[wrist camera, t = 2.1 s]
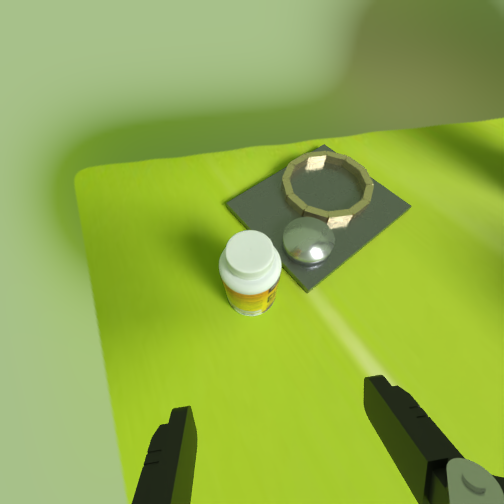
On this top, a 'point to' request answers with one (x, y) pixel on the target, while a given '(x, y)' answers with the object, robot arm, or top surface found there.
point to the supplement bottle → (250, 272)
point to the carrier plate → (318, 213)
